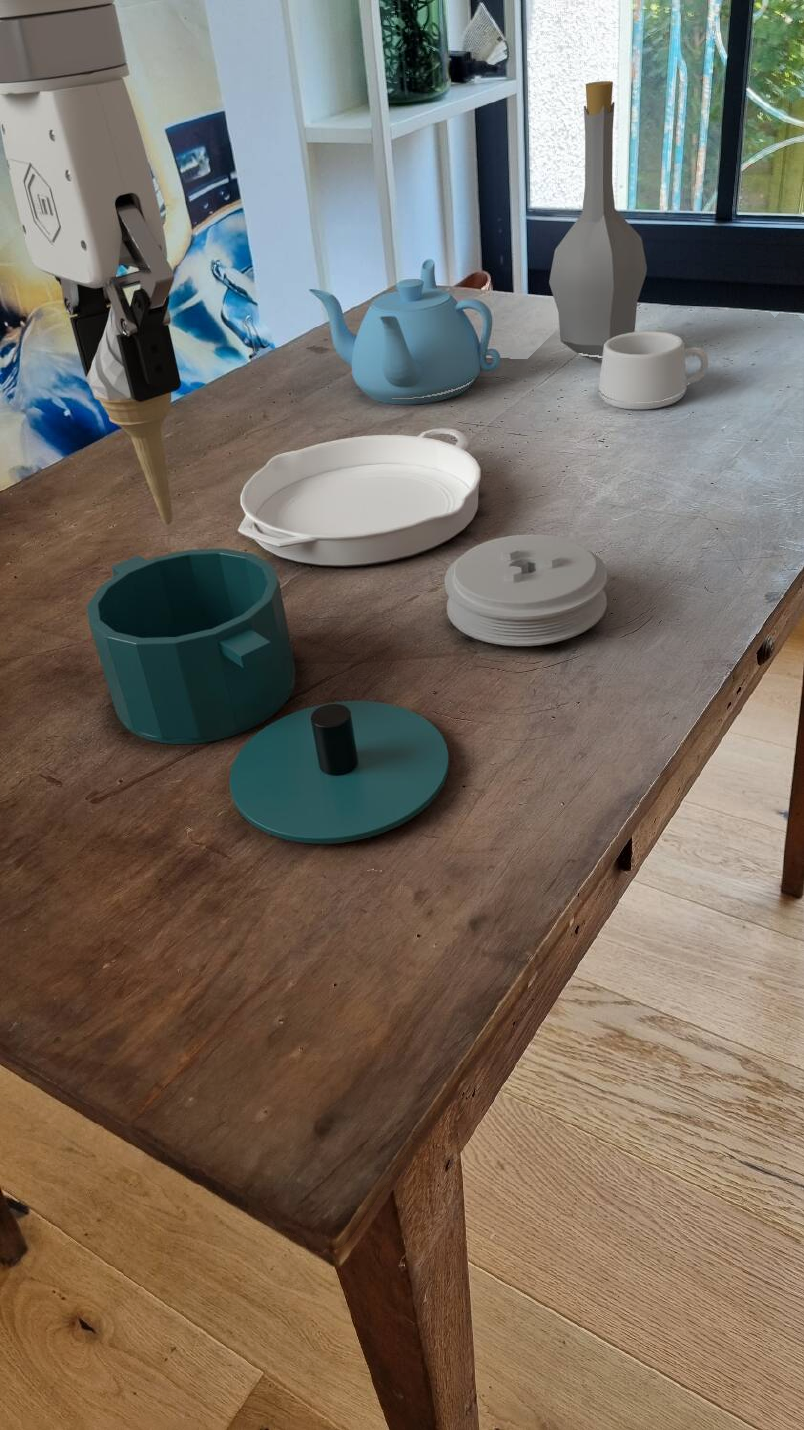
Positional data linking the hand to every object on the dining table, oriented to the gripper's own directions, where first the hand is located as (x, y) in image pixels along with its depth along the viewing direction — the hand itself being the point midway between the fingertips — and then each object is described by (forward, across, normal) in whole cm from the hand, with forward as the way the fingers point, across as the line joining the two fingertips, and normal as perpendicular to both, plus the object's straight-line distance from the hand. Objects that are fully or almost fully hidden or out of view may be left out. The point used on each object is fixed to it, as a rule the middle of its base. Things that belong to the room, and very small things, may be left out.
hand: (132, 381), depth 70 cm
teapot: (+24, -41, +53) cm, 71 cm away
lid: (+24, +9, +24) cm, 36 cm away
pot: (+24, -1, 0) cm, 24 cm away
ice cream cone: (+10, 0, 0) cm, 10 cm away
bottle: (+24, -28, +72) cm, 81 cm away
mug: (+24, -15, +67) cm, 73 cm away
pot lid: (+24, +15, +1) cm, 28 cm away
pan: (+24, -16, +27) cm, 40 cm away
